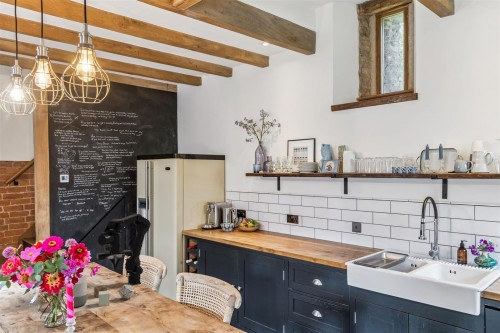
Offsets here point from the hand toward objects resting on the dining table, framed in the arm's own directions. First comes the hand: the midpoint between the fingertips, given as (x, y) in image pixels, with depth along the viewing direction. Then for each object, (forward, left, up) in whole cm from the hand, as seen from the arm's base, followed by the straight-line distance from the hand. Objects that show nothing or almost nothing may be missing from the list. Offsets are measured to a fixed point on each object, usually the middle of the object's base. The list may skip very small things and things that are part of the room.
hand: (114, 269), depth 218 cm
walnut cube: (+8, +3, -13) cm, 15 cm away
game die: (-3, +15, -13) cm, 20 cm away
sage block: (+9, +17, -13) cm, 23 cm away
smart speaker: (+21, +12, -13) cm, 27 cm away
